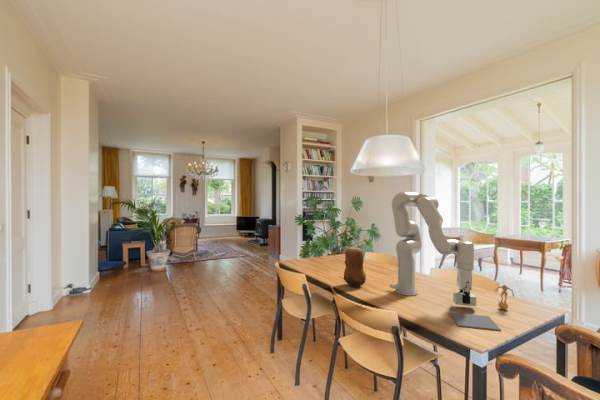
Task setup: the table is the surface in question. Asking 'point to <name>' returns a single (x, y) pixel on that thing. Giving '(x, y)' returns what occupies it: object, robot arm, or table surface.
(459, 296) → the card box
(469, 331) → the table surface
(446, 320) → the table surface
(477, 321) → the mat
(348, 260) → the brown tall rounded piece
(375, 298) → the table surface
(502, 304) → the figurine
